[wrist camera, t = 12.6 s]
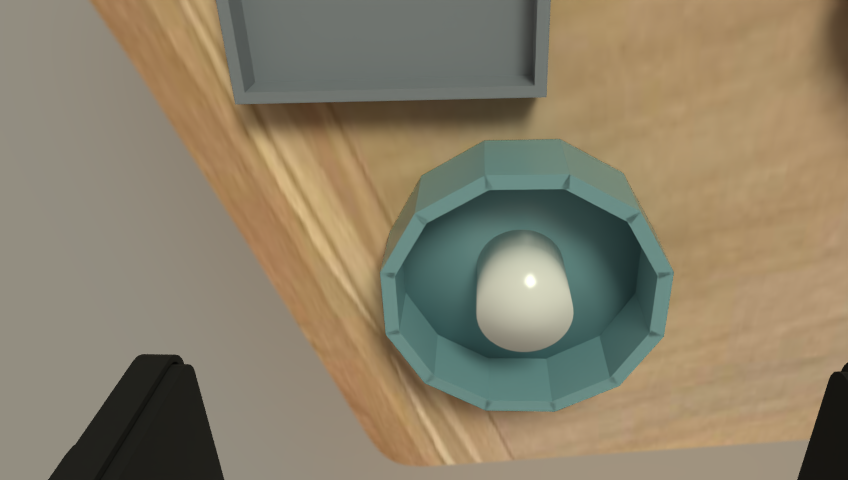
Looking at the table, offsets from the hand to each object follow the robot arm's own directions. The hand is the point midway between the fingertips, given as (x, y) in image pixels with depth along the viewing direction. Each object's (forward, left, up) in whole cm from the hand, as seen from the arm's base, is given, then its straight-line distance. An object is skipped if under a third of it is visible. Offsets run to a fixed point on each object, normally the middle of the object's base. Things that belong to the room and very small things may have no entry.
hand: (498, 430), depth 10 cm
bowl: (-2, +14, -28) cm, 32 cm away
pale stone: (-2, +14, -28) cm, 31 cm away
